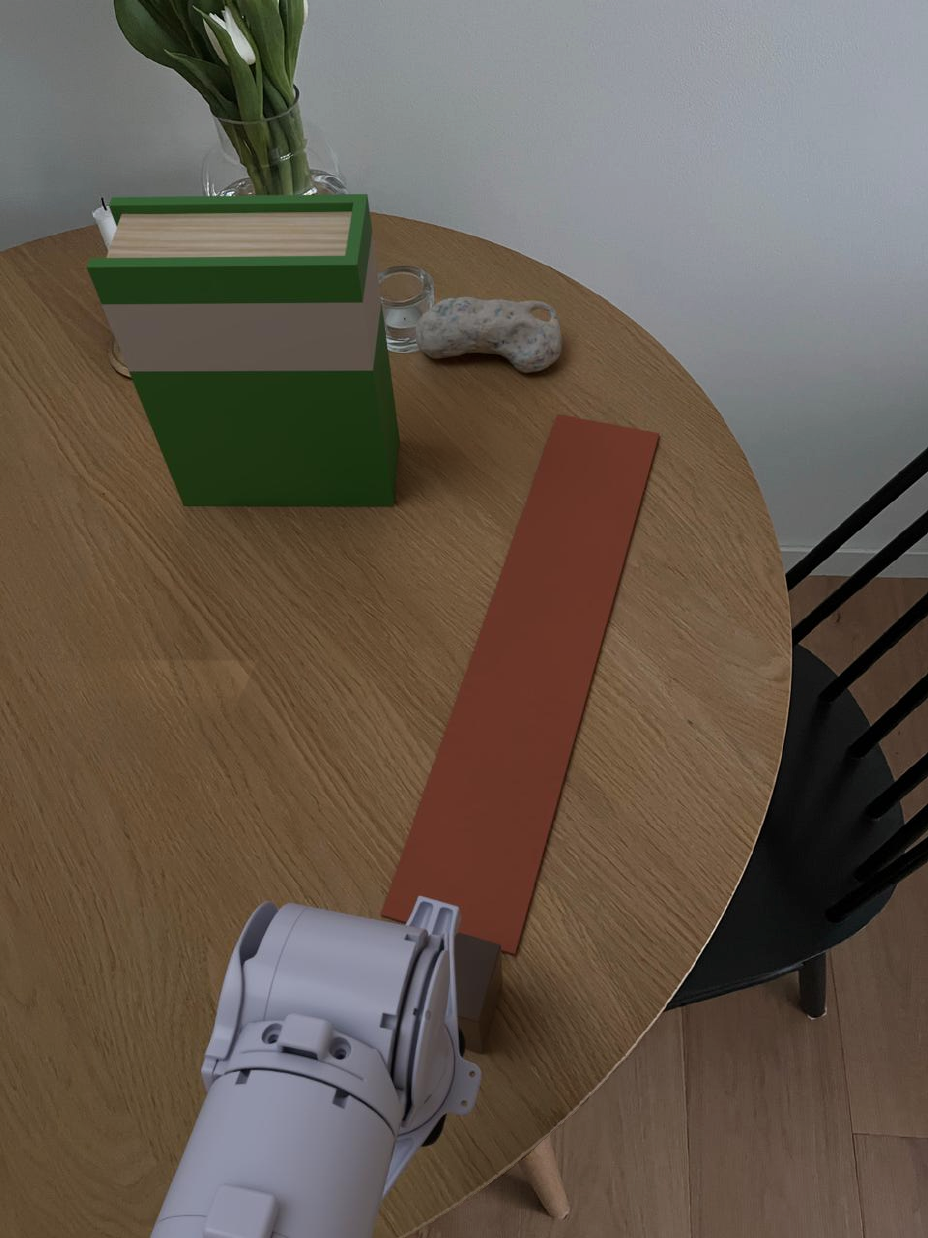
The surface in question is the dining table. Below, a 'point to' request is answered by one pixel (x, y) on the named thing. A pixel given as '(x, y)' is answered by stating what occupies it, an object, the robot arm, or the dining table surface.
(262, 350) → the hardback book
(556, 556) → the terracotta mat
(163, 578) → the dining table surface
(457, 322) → the decorative stone
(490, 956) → the walnut block
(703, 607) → the dining table surface
